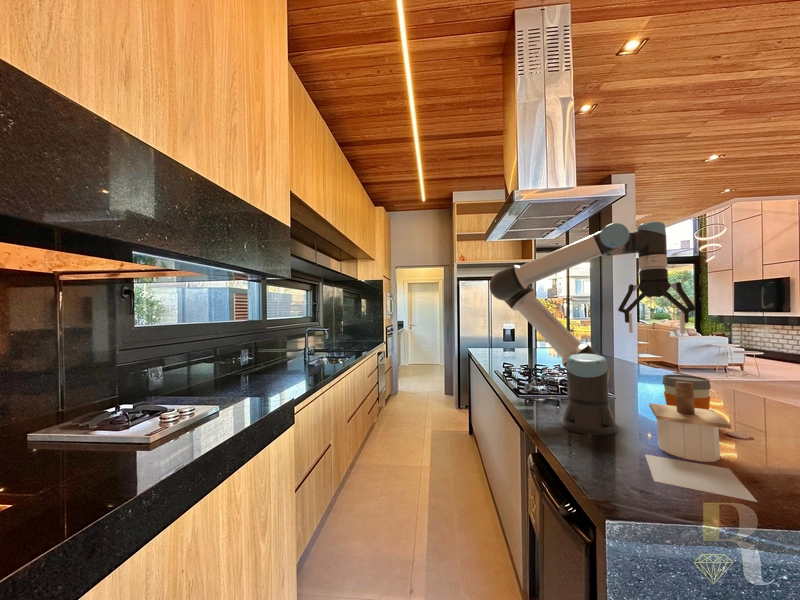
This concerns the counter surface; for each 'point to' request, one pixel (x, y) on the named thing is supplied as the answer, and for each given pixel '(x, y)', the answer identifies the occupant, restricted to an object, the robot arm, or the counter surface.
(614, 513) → the counter surface
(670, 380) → the reusable coffee cup
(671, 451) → the ceramic bowl
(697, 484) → the grey mat
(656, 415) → the oak cover
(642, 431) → the counter surface
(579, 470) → the counter surface
